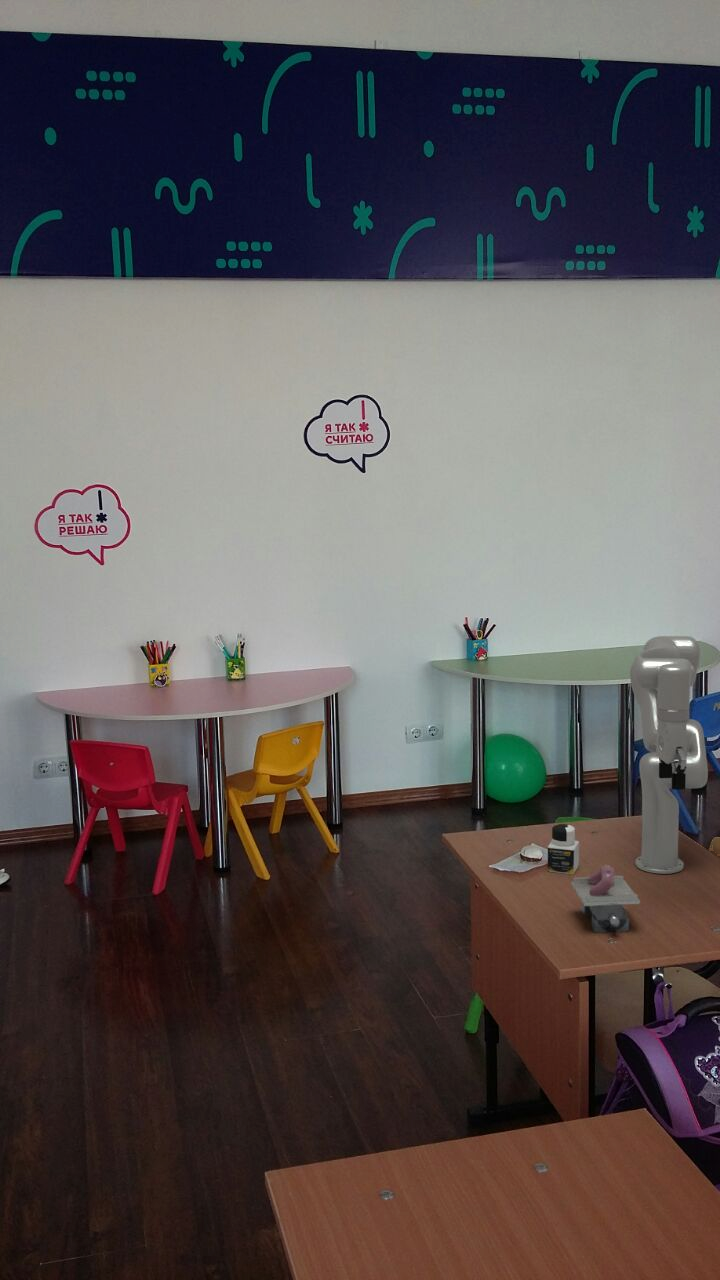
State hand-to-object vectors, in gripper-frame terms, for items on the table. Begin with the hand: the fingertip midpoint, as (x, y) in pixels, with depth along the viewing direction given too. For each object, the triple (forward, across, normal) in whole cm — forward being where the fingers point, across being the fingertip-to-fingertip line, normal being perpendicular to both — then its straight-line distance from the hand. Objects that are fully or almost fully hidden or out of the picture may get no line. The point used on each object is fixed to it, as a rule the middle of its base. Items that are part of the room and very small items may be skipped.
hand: (671, 783), depth 271 cm
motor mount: (+30, +11, -19) cm, 38 cm away
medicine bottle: (+31, -25, -21) cm, 45 cm away
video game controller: (+23, +10, -20) cm, 32 cm away
